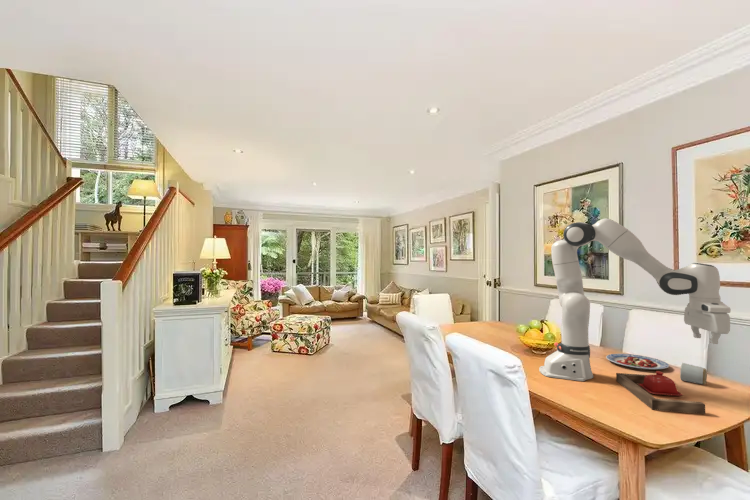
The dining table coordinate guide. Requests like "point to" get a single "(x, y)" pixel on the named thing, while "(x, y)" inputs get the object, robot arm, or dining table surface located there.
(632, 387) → the dock
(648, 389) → the butter dish
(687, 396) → the dining table surface
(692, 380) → the ceramic mug
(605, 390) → the dining table surface
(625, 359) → the ceramic plate
